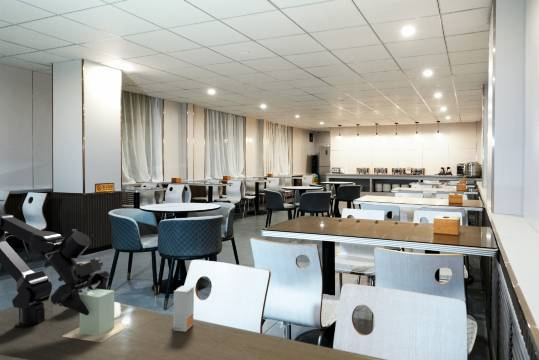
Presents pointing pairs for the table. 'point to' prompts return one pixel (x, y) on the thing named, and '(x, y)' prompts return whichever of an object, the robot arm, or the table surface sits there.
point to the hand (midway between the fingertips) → (99, 309)
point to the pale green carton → (97, 312)
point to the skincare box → (183, 308)
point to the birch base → (101, 338)
